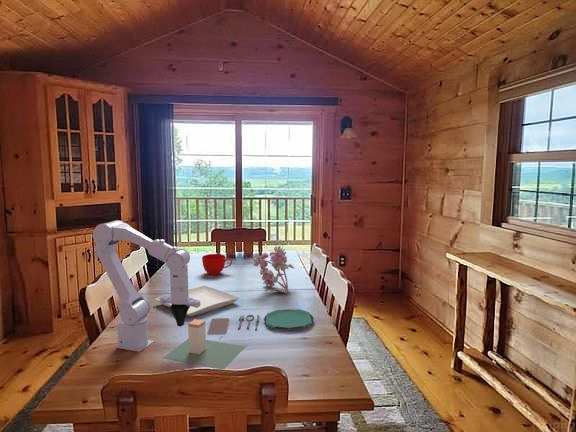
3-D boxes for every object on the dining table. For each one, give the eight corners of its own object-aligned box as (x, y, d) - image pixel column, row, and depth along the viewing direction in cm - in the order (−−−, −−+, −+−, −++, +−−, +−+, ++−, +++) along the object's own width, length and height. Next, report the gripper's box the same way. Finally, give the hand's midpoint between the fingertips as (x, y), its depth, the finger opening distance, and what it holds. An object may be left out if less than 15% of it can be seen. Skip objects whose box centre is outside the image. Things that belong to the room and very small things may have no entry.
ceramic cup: (230, 276, 219) (230, 259, 218) (200, 276, 219) (199, 259, 218) (233, 270, 232) (233, 254, 231) (205, 270, 232) (204, 253, 231)
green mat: (162, 358, 127) (162, 357, 127) (190, 338, 142) (190, 337, 142) (223, 370, 120) (223, 369, 120) (245, 347, 135) (245, 346, 135)
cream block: (189, 352, 131) (188, 323, 130) (195, 347, 135) (194, 319, 133) (199, 354, 130) (198, 325, 128) (205, 348, 133) (205, 320, 132)
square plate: (240, 304, 177) (240, 296, 177) (188, 322, 157) (187, 313, 157) (205, 291, 196) (205, 283, 195) (154, 305, 176) (153, 297, 175)
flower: (306, 281, 206) (285, 238, 206) (303, 290, 183) (280, 242, 184) (271, 296, 208) (251, 253, 208) (264, 308, 185) (242, 259, 186)
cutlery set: (315, 332, 148) (315, 326, 147) (235, 334, 147) (235, 328, 147) (311, 313, 167) (311, 307, 167) (241, 314, 167) (240, 309, 167)
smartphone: (206, 335, 144) (211, 318, 159) (206, 337, 144) (211, 320, 159) (226, 334, 145) (229, 318, 159) (226, 336, 145) (229, 320, 160)
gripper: (204, 284, 133) (205, 323, 134) (168, 280, 137) (169, 318, 139) (193, 291, 126) (194, 331, 128) (155, 286, 131) (157, 325, 132)
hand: (180, 325), depth 133 cm, fingers closed
